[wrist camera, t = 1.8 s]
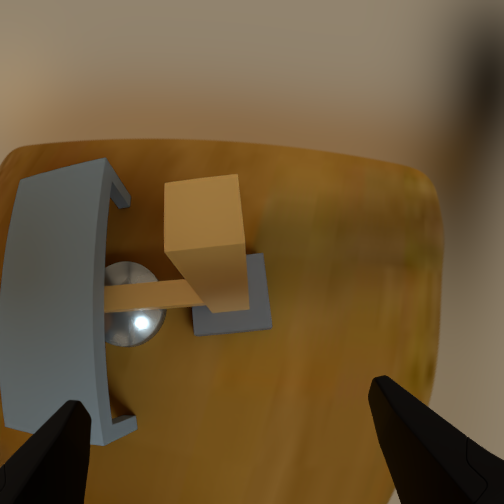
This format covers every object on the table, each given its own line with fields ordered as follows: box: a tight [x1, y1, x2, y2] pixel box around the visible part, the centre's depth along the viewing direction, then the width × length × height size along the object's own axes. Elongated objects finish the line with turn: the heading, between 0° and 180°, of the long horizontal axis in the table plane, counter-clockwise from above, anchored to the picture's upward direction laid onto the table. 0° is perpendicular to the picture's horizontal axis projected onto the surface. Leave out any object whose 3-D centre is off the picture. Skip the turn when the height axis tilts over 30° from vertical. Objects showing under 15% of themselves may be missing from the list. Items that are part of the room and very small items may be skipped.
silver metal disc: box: [104, 261, 167, 347], centre depth 21 cm, size 6×6×1 cm
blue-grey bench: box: [0, 158, 137, 446], centre depth 19 cm, size 8×18×6 cm, turn 6°
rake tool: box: [104, 174, 272, 336], centre depth 15 cm, size 14×7×13 cm, turn 96°
